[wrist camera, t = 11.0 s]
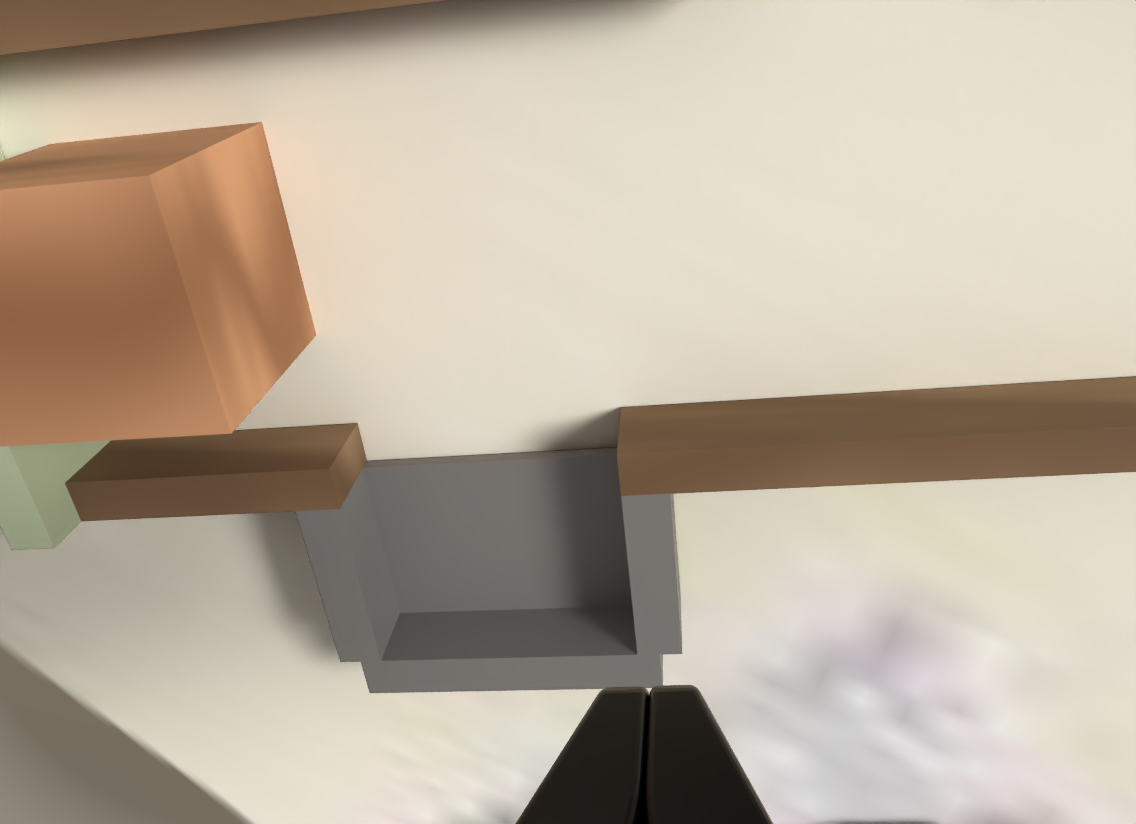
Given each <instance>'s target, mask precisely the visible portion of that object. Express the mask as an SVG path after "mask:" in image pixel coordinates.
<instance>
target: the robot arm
mask: <svg viewBox="0 0 1136 824" xmlns="http://www.w3.org/2000/svg"><path fill="white" fill-rule="evenodd" d="M516 824H773V823H772V821H771V819H770V817H769V815H768V813H767V812H766V810H765V808H764V806H763V804H762V803H761V801H760V799H759V797H758V795H757V794H756V792H755V790H754V788H753V786H752V785H751V783H750V781H749V779H748V777H747V776H746V774H745V772H744V770H743V768H742V767H741V765H740V763H739V761H738V759H737V757H736V756H735V754H734V752H733V750H732V748H731V747H730V745H729V743H728V741H727V739H726V738H725V736H724V734H723V732H722V730H721V729H720V727H719V725H718V723H717V721H716V720H715V718H714V716H713V714H712V712H711V711H710V709H709V707H708V705H707V703H706V701H705V700H704V698H703V696H702V694H701V693H700V691H699V690H698V689H697V688H696V687H694V686H693V685H672V686H655V687H654V688H652V690H651V691H650V694H649V692H648V691H647V689H645V688H644V687H640V686H638V687H608V688H605V689H603V690H602V691H600V693H599V694H598V695H597V697H596V698H595V700H594V701H593V703H592V705H591V706H590V708H589V709H588V711H587V712H586V714H585V716H584V717H583V719H582V720H581V722H580V723H579V725H578V727H577V728H576V730H575V731H574V733H573V734H572V736H571V738H570V739H569V741H568V742H567V744H566V745H565V747H564V749H563V750H562V752H561V753H560V755H559V756H558V758H557V760H556V761H555V763H554V764H553V766H552V767H551V769H550V771H549V772H548V774H547V775H546V777H545V778H544V780H543V782H542V783H541V785H540V786H539V788H538V789H537V791H536V793H535V794H534V796H533V797H532V799H531V800H530V802H529V804H528V805H527V807H526V808H525V810H524V811H523V813H522V815H521V816H520V818H519V819H518V821H517V822H516Z"/></svg>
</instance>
